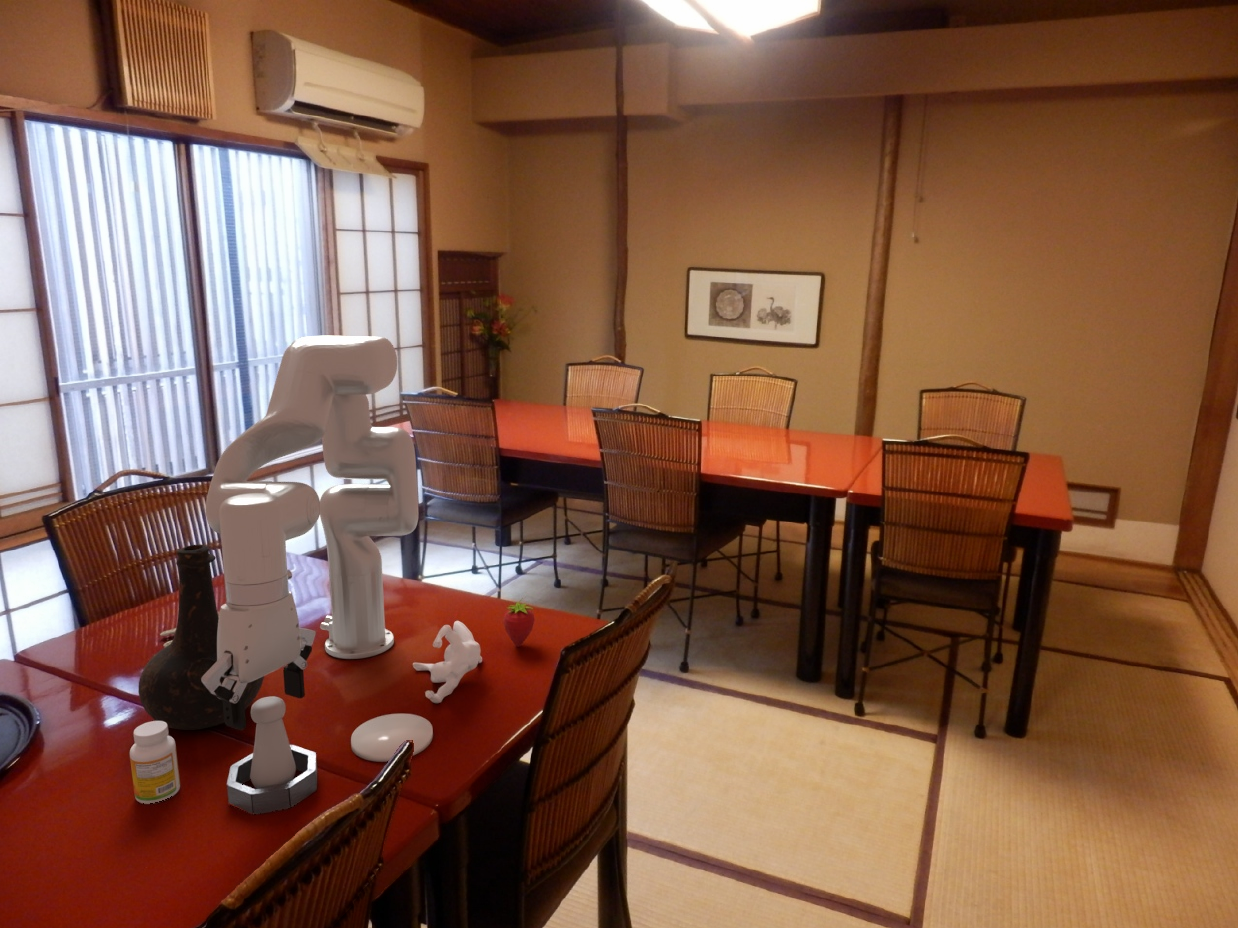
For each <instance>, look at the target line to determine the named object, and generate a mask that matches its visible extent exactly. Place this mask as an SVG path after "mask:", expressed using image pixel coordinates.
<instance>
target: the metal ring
mask: <svg viewBox="0 0 1238 928" xmlns="http://www.w3.org/2000/svg"><path fill="white" fill-rule="evenodd" d="M290 748H291V751H292V755H293V758H294V762H295V765H296V771H299V772H301V774H299V775H297V777H295V778H293V779H292V781H290V782H289V783H287V784H285V785H279V786H273V787H267V788H261V789H256V788H252V787H251V786H248V785H245V784H246V783H247V782H249V781H251V780H250V773H251V766H252V758H253V752H252V753H250V754H249V755H246V756H245V757H244V758H242V759H241V760H238V761H237V762H235V763H233V764H232V765H230V768H229V773H228V777H227V781H226V787H227V798H228V804H229V803H230V804H232V805H234V806H237V807H239V808H241V809H243V810H245V811H247V812H249V813H248V814H250V813H251V814H250V815H252V814H253V813H254V814H256V815H261V814H264V813H265V814H266V813H271V812H272V811H273V812H276V811H275V810H278V811H282V809H284V810H288V808H290V807H292V808H294V807H295V806H296V805H297V803H298V804H299V803H300V802H301V801H303V800H305V799H306V798H308V797H309V796H310V795H312V794H313V793H315V792H317V790H318V766H317V765H318V764H317V762H318V761H317V754H316V753H317V752H315V751H312V750H309V749H306V748H303V747H300V746H298V745H295V744H290ZM246 781H247V782H246ZM245 782H246V783H245ZM243 783H244V784H243ZM242 784H243V785H242ZM294 805H295V806H294ZM290 809H291V808H290ZM245 811H244V812H245ZM247 812H246V813H247ZM260 813H261V814H260ZM254 814H253V815H254Z"/></svg>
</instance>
